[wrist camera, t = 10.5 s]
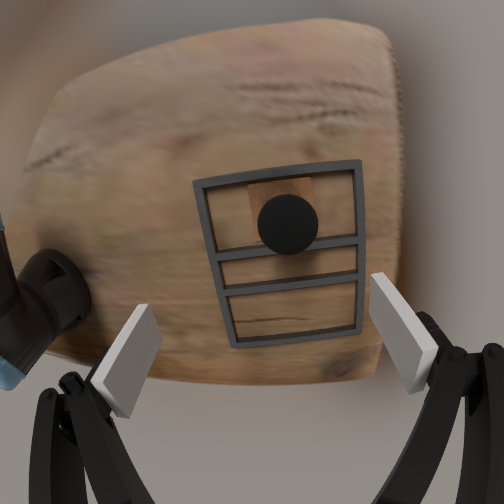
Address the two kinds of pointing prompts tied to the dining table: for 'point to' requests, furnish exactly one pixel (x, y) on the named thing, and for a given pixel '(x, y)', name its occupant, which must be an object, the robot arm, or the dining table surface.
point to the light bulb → (287, 224)
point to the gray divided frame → (258, 198)
